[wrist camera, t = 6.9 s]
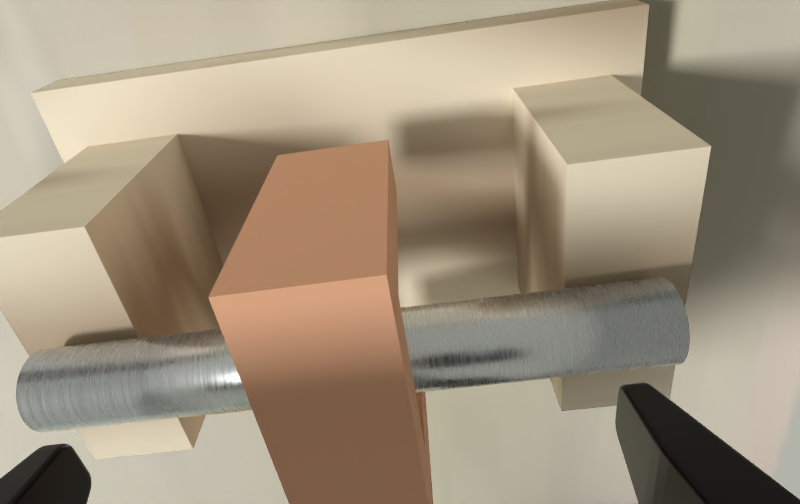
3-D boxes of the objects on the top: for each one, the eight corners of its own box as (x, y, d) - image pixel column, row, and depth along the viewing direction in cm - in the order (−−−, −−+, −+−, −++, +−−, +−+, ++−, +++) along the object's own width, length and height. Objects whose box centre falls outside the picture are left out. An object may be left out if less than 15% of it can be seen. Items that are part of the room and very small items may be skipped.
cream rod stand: (608, 290, 18) (696, 441, 13) (172, 340, 19) (89, 501, 14) (630, -2, 14) (780, 46, 8) (56, 80, 15) (-136, 172, 9)
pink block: (422, 354, 15) (436, 542, 10) (333, 364, 15) (309, 554, 10) (388, 139, 12) (386, 275, 7) (277, 155, 12) (208, 297, 7)
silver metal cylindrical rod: (647, 327, 11) (682, 383, 10) (84, 389, 12) (43, 450, 11) (655, 261, 10) (694, 312, 9) (50, 332, 11) (2, 389, 10)
